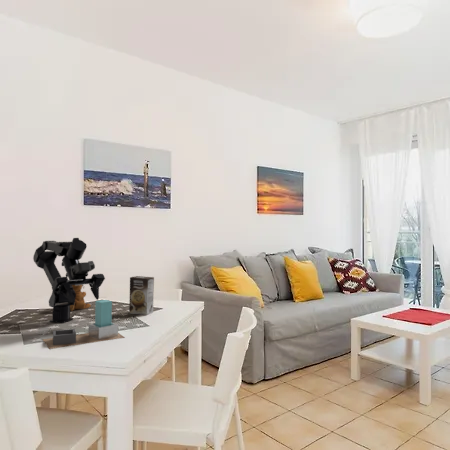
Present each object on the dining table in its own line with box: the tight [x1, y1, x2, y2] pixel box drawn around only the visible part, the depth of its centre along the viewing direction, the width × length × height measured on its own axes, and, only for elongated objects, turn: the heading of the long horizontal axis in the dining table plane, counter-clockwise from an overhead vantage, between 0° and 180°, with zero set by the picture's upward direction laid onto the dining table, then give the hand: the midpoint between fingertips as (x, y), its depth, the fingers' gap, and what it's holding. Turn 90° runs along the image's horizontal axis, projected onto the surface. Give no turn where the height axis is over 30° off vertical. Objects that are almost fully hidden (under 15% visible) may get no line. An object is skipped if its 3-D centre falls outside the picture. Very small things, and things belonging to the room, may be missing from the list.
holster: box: [52, 328, 77, 345], centre depth 129 cm, size 7×7×3 cm
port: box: [88, 322, 119, 340], centre depth 136 cm, size 7×7×4 cm
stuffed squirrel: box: [70, 284, 92, 312], centre depth 182 cm, size 10×14×13 cm
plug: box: [94, 299, 113, 327], centre depth 136 cm, size 4×4×12 cm
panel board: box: [42, 332, 125, 350], centre depth 133 cm, size 24×12×1 cm, turn 124°
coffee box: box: [128, 275, 155, 316], centre depth 176 cm, size 9×6×16 cm
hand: (86, 300), depth 144 cm, fingers open, 9 cm apart
